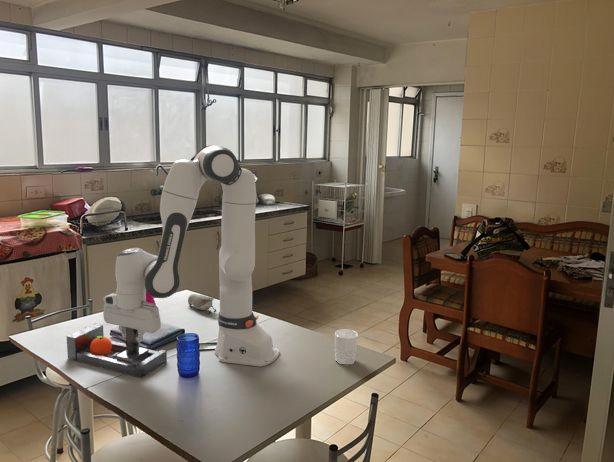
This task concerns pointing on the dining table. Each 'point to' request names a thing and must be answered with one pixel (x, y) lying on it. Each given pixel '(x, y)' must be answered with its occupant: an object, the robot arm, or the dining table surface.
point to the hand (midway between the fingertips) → (132, 339)
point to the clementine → (101, 346)
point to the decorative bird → (201, 302)
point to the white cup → (345, 346)
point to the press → (81, 352)
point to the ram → (133, 349)
